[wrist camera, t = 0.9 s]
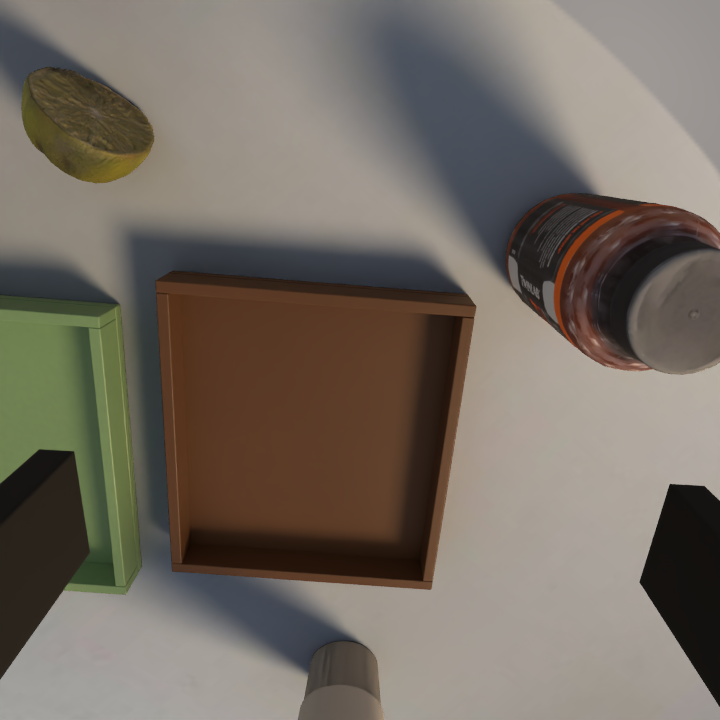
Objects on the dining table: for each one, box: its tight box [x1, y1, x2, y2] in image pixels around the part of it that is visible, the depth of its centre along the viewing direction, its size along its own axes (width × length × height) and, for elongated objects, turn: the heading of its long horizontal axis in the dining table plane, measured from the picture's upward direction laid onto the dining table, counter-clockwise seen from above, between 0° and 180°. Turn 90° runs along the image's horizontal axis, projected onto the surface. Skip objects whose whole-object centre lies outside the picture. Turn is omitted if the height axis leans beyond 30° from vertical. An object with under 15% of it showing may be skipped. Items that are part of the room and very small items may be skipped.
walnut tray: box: [155, 271, 476, 590], centre depth 29 cm, size 17×15×2 cm
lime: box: [22, 67, 154, 183], centre depth 22 cm, size 4×5×5 cm
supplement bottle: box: [506, 193, 720, 375], centre depth 21 cm, size 6×6×11 cm
